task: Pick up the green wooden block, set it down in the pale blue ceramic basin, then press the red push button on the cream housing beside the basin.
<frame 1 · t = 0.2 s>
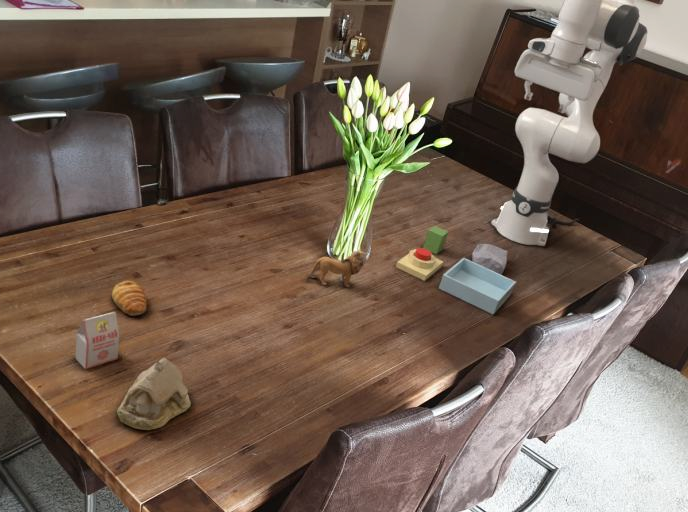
hand: (544, 105, 194), 47 cm above the table, tool pointing down, fingers open, 8 cm apart
basin: (475, 291, 205), on the table
stone block: (486, 263, 222), on the table
tea bag: (96, 359, 146), on the table
green block: (432, 248, 221), on the table
button: (423, 254, 207), point 4 cm above the table, slide at 0.1 cm
ceramic model: (153, 408, 138), on the table
pastry: (130, 304, 163), on the table
lion figurine: (333, 282, 192), on the table
button housing: (419, 267, 209), on the table
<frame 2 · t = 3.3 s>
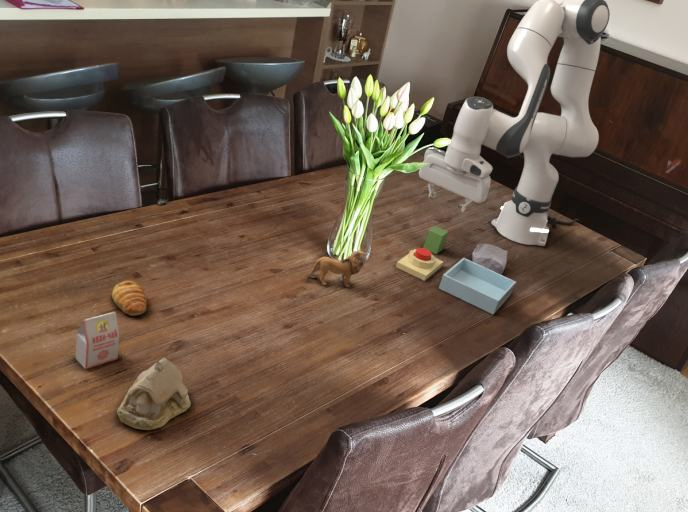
hand: (445, 204, 213), 14 cm above the table, tool pointing down, fingers open, 8 cm apart
nothing on the table moved.
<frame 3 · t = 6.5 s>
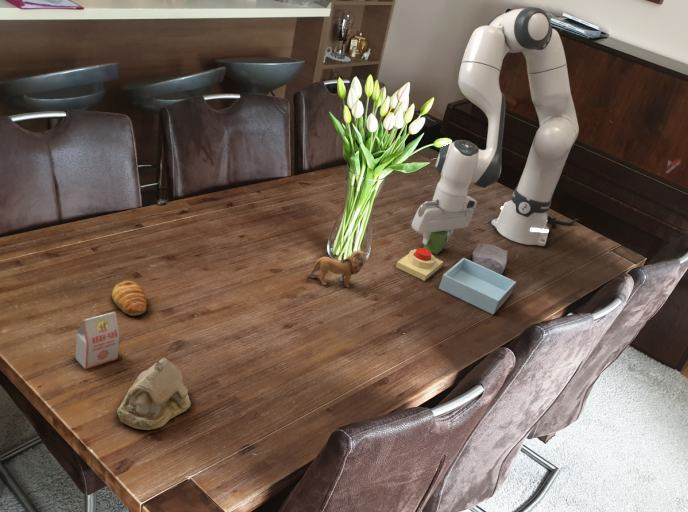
hand: (434, 242, 219), 2 cm above the table, tool pointing down, fingers closed on green block, 6 cm apart
green block: (432, 249, 221), on the table, touching gripper
everything else where it was.
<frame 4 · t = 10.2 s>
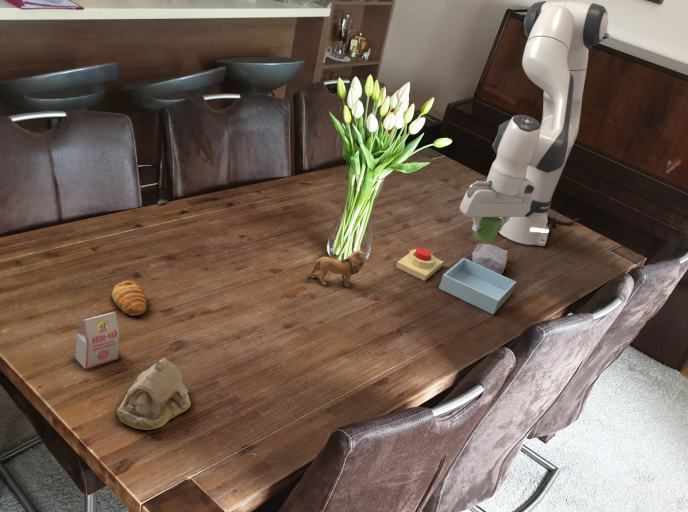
hand: (486, 230, 198), 17 cm above the table, tool pointing down, fingers closed on green block, 6 cm apart
green block: (483, 237, 199), point 15 cm above the table, touching gripper
everything else where it was.
when the fingers open (3 cm above the table, at t = 14.0 s): green block stays where it is, resting on basin.
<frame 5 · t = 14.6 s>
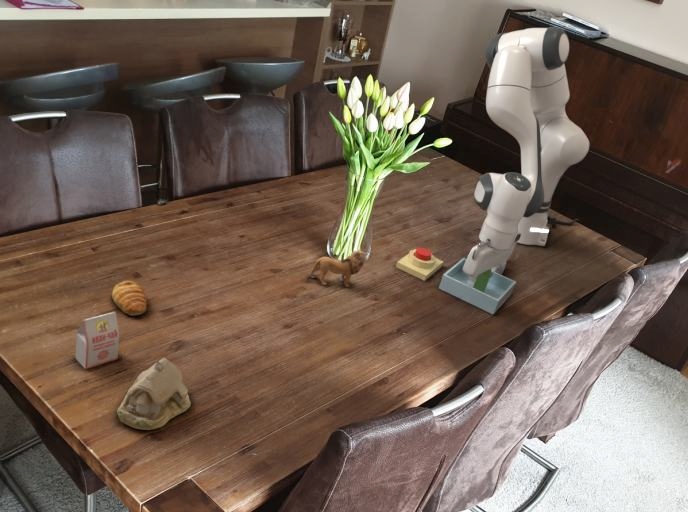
hand: (479, 281, 203), 3 cm above the table, tool pointing down, fingers open, 8 cm apart
green block: (475, 289, 204), point 1 cm above the table, touching basin
everything else where it was.
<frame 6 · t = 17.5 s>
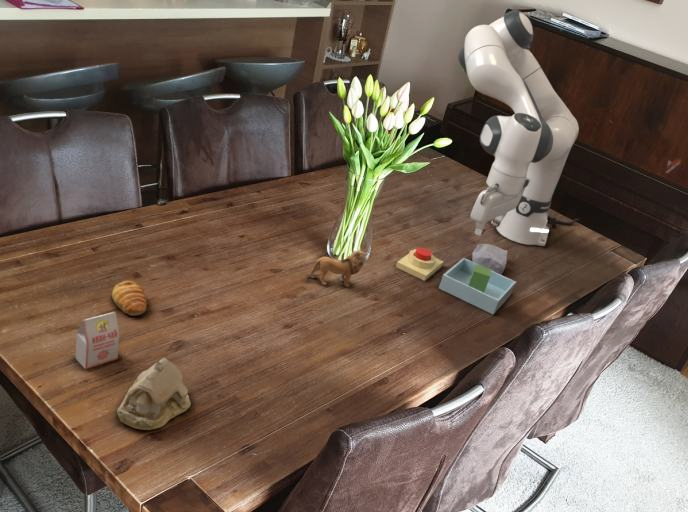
hand: (486, 230, 196), 18 cm above the table, tool pointing down, fingers open, 8 cm apart
nothing on the table moved.
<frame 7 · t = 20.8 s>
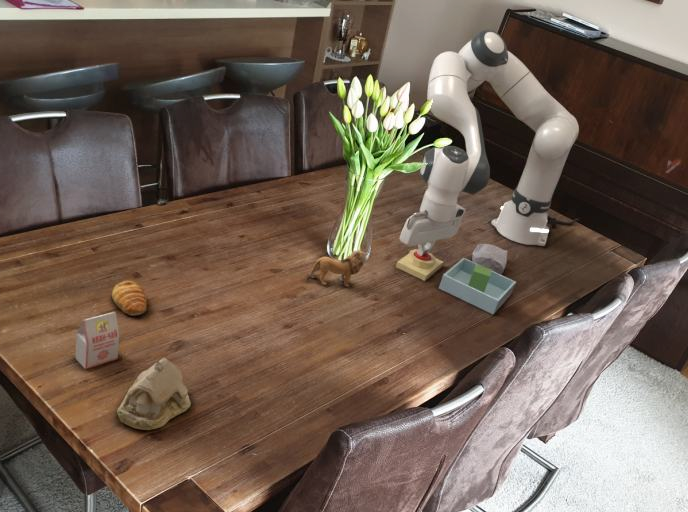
hand: (422, 254, 207), 4 cm above the table, tool pointing down, fingers closed, pressing on button
button: (422, 257, 207), point 3 cm above the table, slide at -0.8 cm, touching gripper
everything else where it was.
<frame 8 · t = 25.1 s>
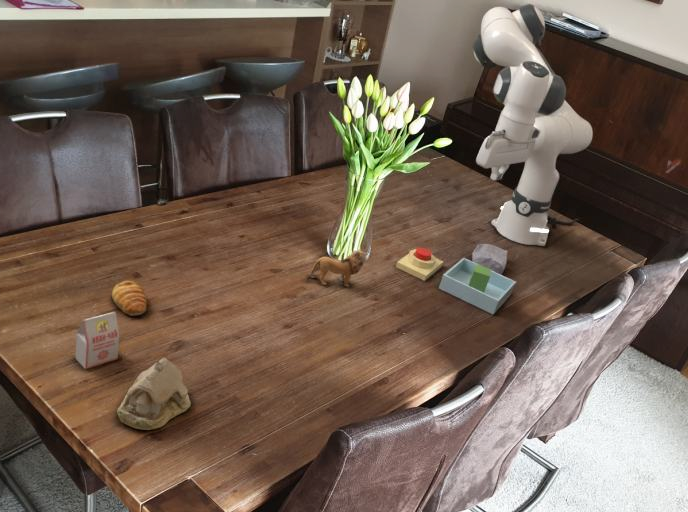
hand: (495, 179, 201), 27 cm above the table, tool pointing down, fingers closed
button: (423, 254, 207), point 4 cm above the table, slide at 0.1 cm
everything else where it was.
at the end: green block inside the target area in the basin (0.1 cm from its centre), point 0.8 cm above the basin's base; button pushed in 1.0 cm at the most during the clip, back to where it started at the end; button slide at 0.1 cm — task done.
